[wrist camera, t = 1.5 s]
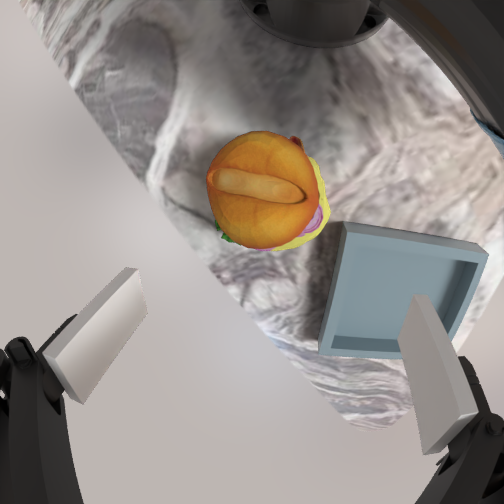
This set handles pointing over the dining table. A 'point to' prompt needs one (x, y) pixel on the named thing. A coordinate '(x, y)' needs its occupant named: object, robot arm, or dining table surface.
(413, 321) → the robot arm
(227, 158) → the cheeseburger
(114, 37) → the dining table surface
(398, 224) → the dining table surface
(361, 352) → the bin
